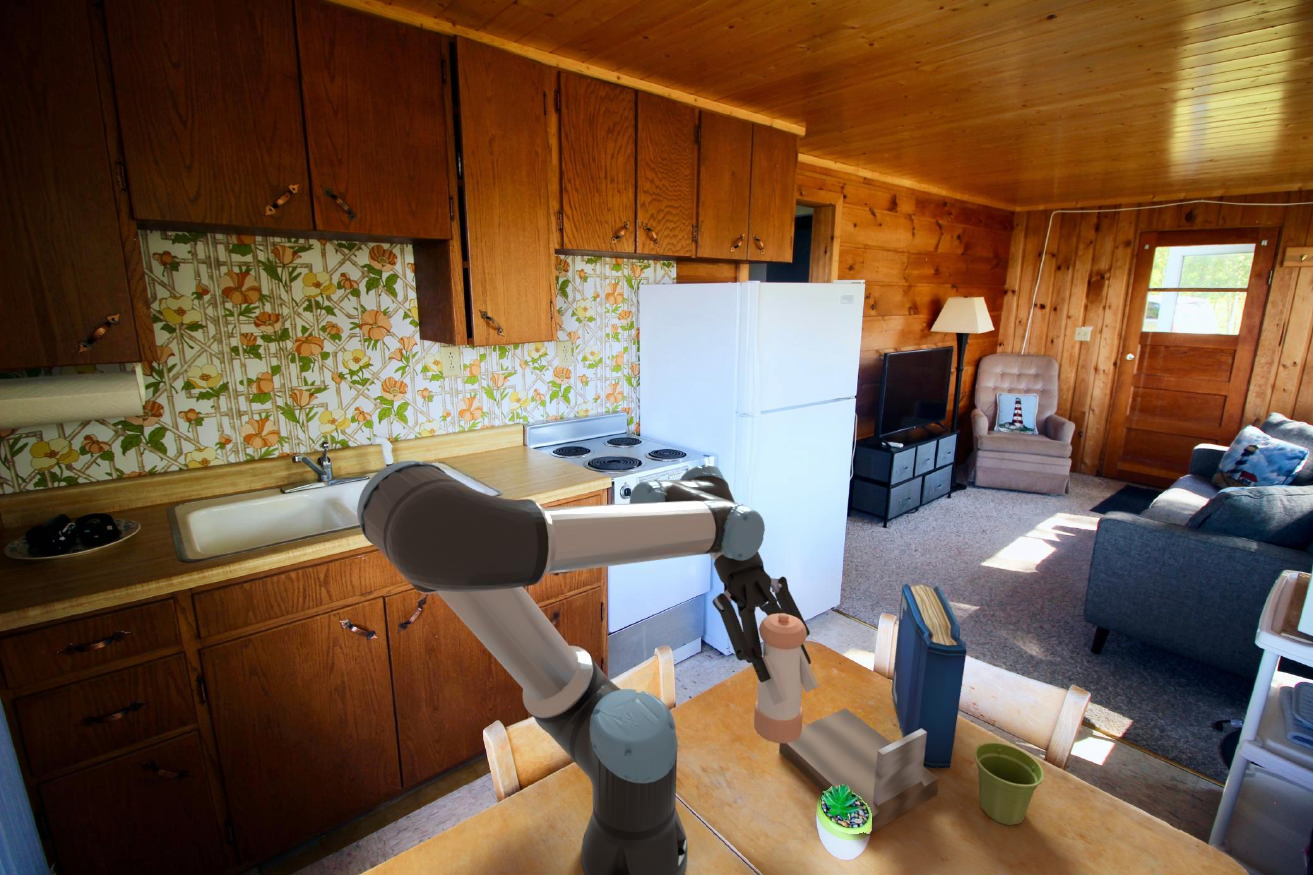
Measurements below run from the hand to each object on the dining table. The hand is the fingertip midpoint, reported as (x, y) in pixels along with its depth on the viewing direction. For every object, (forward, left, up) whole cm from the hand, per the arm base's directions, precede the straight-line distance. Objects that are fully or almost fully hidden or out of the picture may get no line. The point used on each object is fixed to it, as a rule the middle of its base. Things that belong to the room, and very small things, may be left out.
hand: (796, 695), depth 90 cm
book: (+34, +3, -22) cm, 40 cm away
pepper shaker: (0, +4, -8) cm, 9 cm away
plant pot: (+30, -15, -22) cm, 40 cm away
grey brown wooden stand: (+16, +2, -21) cm, 27 cm away
